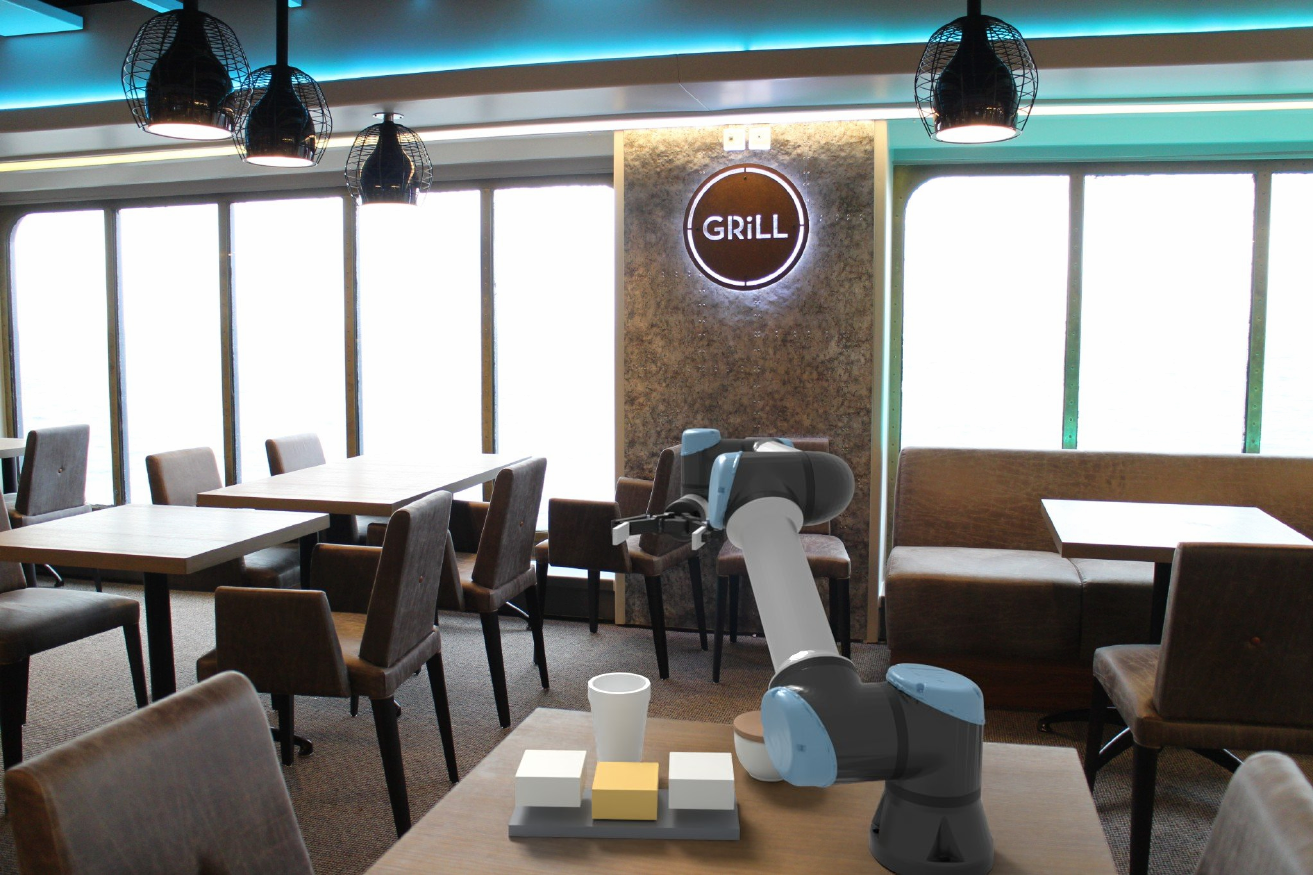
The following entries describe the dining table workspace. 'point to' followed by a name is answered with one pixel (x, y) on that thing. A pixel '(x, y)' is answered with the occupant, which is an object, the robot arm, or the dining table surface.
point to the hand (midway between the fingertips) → (653, 539)
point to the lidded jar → (753, 747)
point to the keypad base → (626, 822)
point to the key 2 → (701, 781)
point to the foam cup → (619, 715)
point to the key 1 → (551, 778)
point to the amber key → (625, 790)
